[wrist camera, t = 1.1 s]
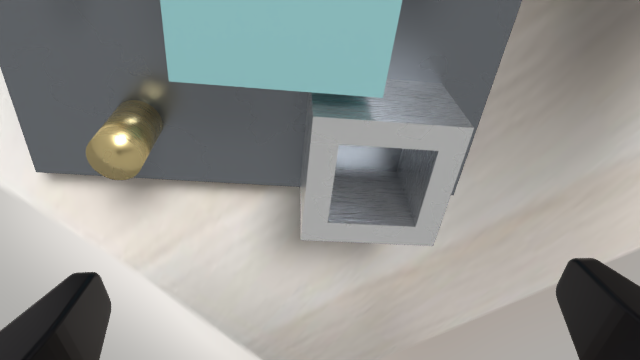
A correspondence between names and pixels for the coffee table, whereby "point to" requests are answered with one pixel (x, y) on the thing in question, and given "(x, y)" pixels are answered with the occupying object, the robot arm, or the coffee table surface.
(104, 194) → the coffee table surface
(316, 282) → the coffee table surface
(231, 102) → the metal cubes
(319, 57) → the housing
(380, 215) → the hollow square metal block
